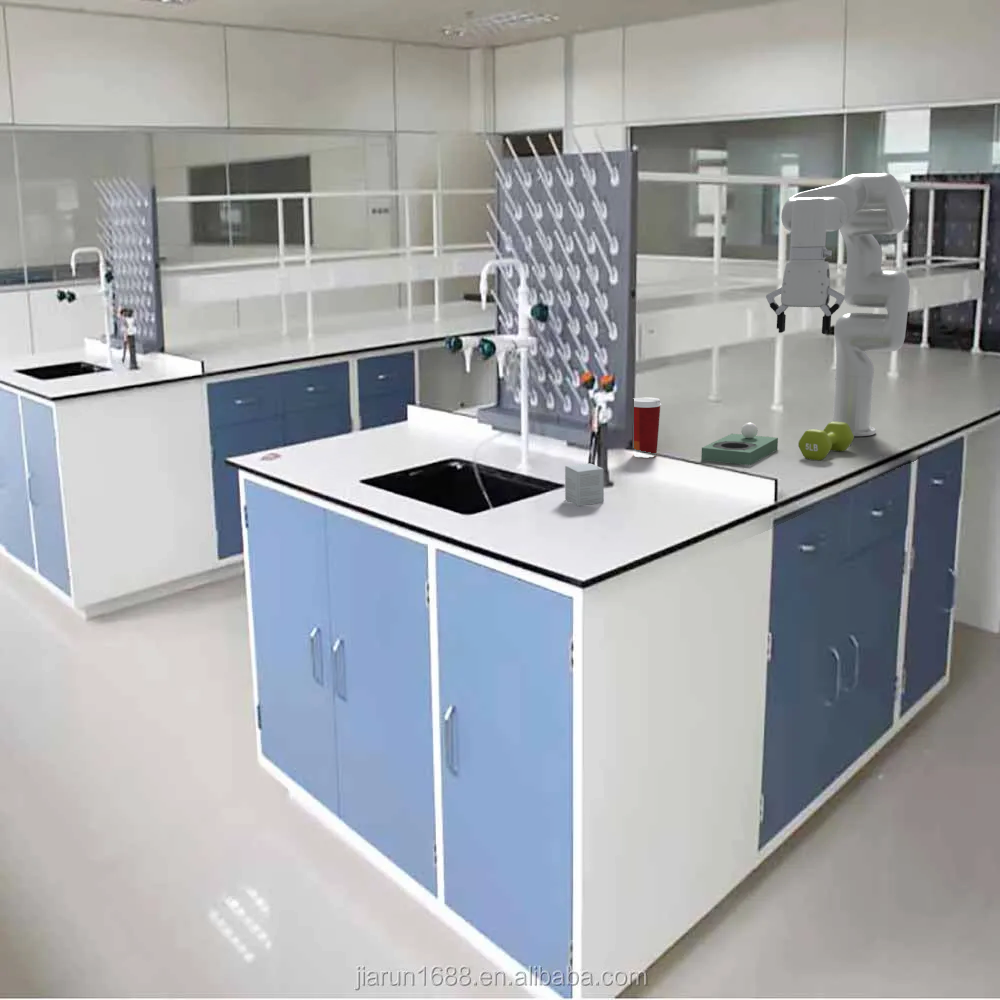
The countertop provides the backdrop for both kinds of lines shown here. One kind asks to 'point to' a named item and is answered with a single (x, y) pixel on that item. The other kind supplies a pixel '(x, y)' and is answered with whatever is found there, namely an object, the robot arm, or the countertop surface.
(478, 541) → the countertop surface
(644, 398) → the paper cup
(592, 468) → the product box
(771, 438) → the putting mat
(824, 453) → the dumbbell
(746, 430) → the ball
